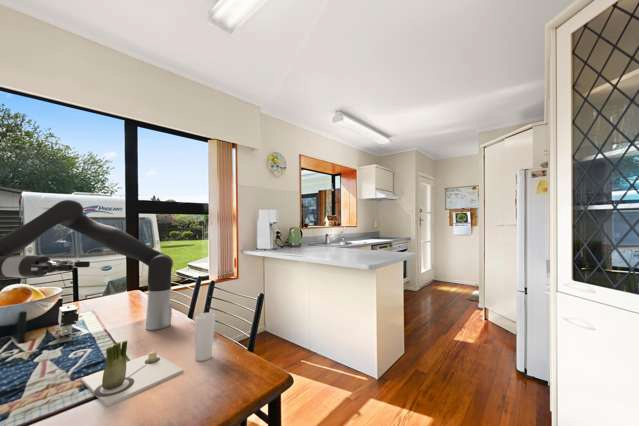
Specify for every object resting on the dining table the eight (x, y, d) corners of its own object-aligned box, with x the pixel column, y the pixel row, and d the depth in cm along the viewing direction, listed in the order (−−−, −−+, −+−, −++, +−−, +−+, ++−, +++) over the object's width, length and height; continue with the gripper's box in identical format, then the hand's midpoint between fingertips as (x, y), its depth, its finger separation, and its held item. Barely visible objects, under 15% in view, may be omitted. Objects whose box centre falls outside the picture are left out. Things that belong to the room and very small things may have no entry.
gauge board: (153, 354, 94) (153, 345, 94) (183, 372, 83) (183, 361, 83) (78, 381, 77) (79, 370, 77) (104, 408, 66) (105, 394, 66)
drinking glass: (217, 355, 94) (219, 313, 95) (203, 364, 88) (206, 319, 89) (202, 352, 97) (204, 311, 98) (188, 360, 90) (190, 317, 91)
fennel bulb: (124, 379, 77) (127, 337, 78) (128, 385, 74) (131, 342, 75) (99, 387, 73) (102, 344, 74) (102, 395, 70) (106, 349, 70)
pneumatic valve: (59, 339, 105) (62, 309, 105) (56, 331, 112) (59, 303, 113) (78, 335, 109) (80, 306, 110) (74, 328, 116) (76, 301, 117)
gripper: (8, 257, 83) (67, 257, 87) (45, 253, 97) (94, 253, 101) (6, 281, 83) (65, 280, 86) (43, 273, 97) (93, 273, 100)
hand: (81, 265), depth 93 cm, fingers open, 8 cm apart
